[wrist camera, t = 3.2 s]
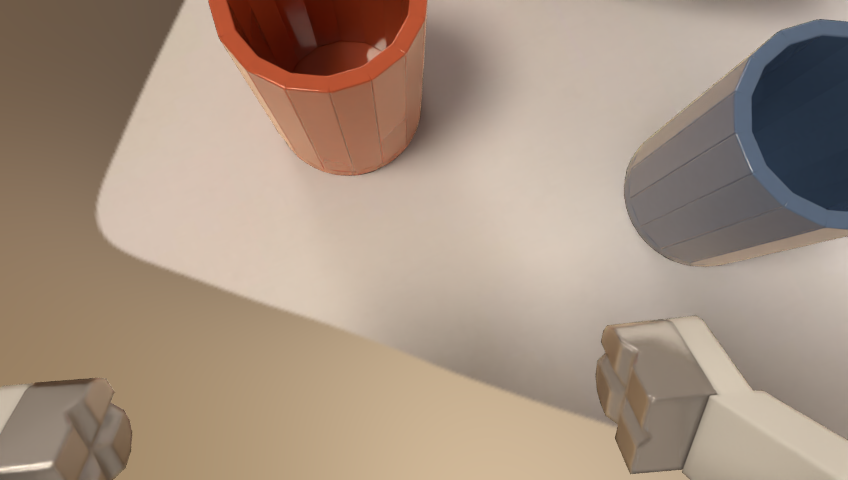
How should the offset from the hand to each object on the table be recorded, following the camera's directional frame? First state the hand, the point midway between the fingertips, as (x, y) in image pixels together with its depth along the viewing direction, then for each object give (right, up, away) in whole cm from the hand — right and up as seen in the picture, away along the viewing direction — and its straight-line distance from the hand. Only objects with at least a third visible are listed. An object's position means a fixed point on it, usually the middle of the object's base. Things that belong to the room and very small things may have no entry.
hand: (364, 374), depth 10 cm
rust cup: (-3, +9, +19) cm, 22 cm away
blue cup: (+14, +4, +19) cm, 24 cm away
